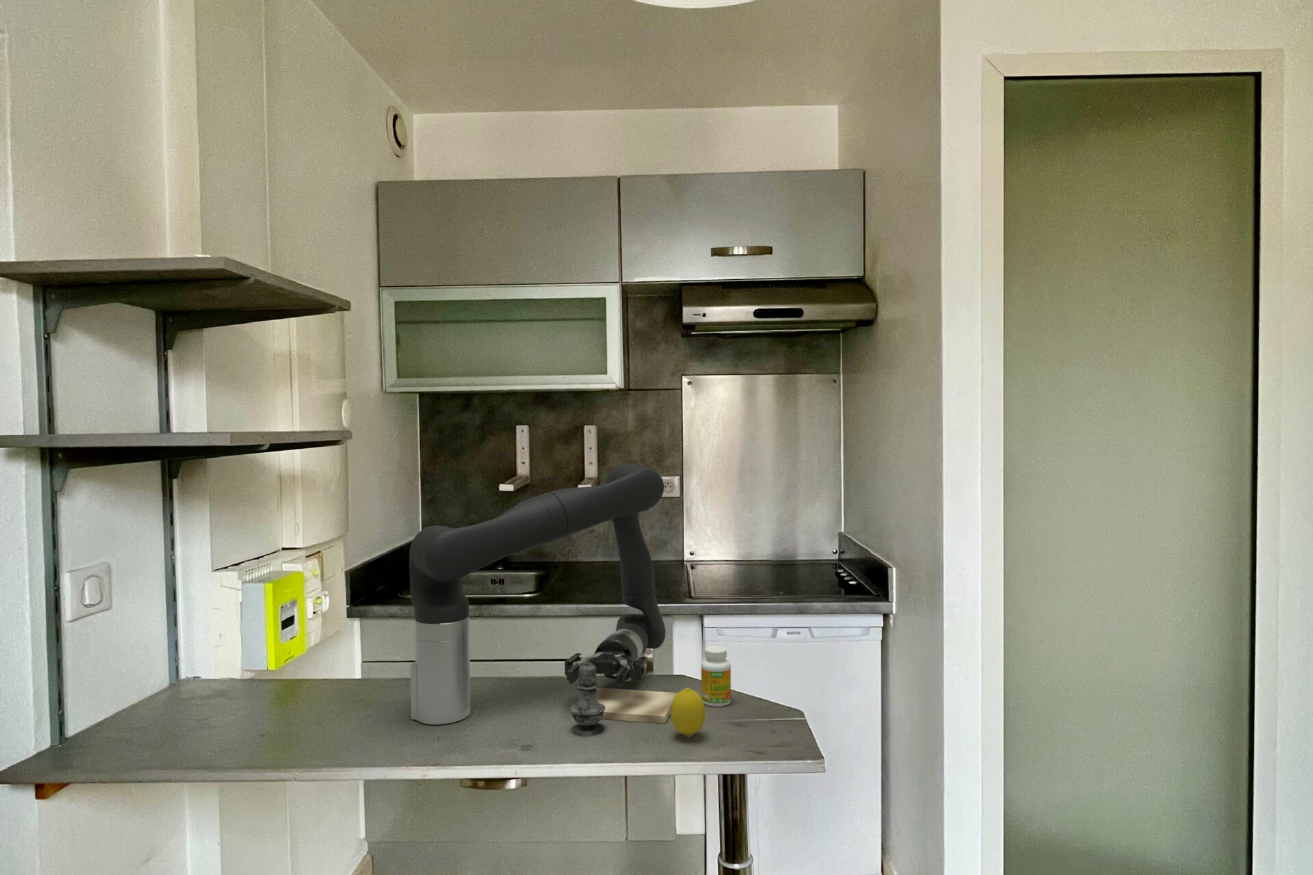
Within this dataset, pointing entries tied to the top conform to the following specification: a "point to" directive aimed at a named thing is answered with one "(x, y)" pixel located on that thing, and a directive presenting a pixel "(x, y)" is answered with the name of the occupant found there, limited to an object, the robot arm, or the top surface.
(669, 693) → the birch board
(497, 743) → the top surface
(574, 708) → the salt shaker
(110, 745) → the top surface
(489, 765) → the top surface
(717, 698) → the supplement bottle
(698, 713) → the lemon
